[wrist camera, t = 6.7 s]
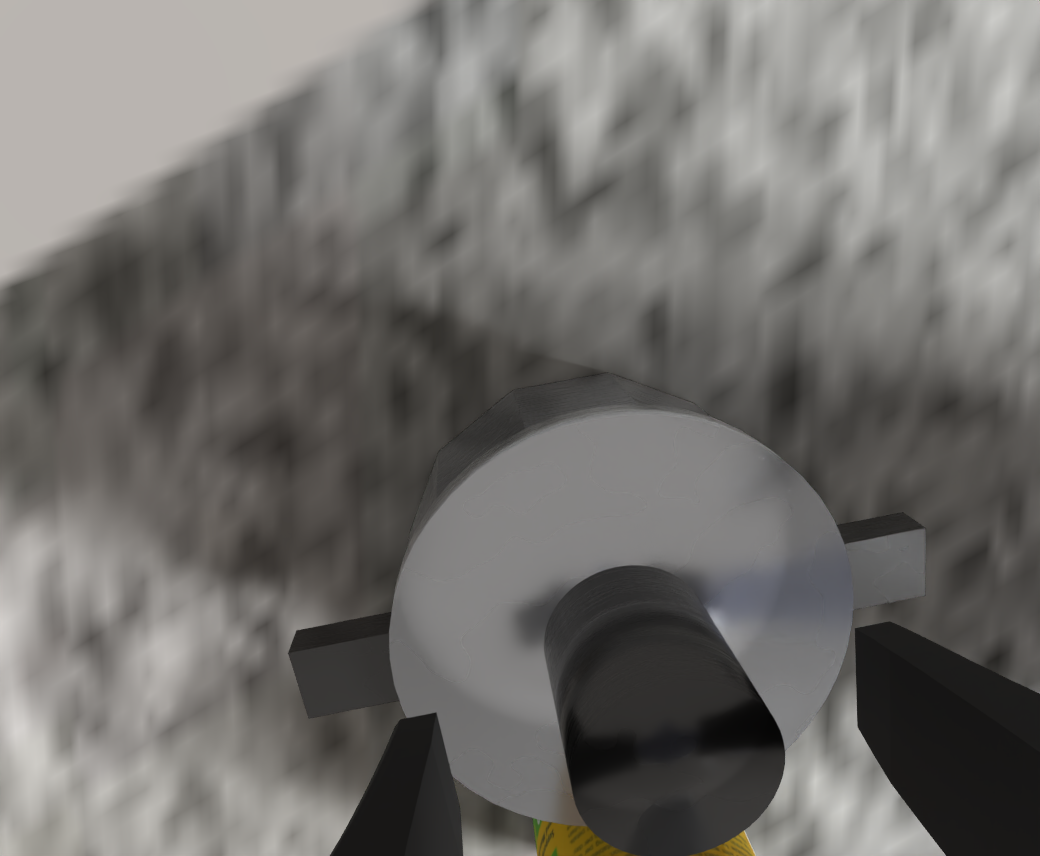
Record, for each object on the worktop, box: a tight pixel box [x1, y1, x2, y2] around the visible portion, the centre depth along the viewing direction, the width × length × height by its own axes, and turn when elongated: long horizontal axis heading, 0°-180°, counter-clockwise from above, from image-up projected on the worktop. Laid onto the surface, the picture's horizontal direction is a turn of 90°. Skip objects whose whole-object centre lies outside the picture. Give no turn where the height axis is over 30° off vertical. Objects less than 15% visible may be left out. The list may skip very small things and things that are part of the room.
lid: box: [389, 404, 854, 856], centre depth 13 cm, size 9×9×4 cm
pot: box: [288, 373, 926, 718], centre depth 17 cm, size 13×9×4 cm, turn 99°
